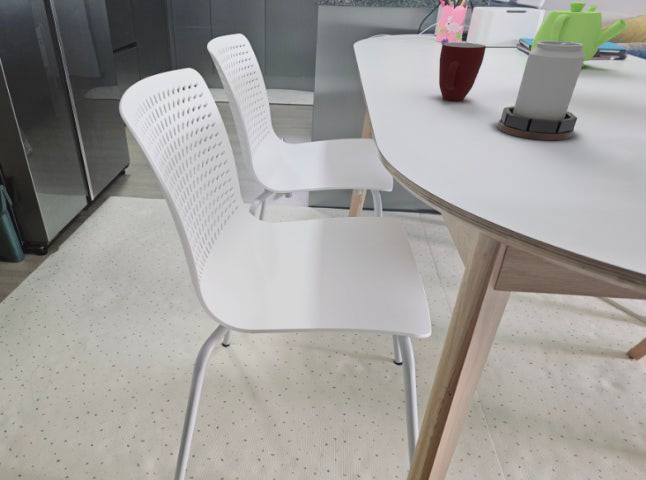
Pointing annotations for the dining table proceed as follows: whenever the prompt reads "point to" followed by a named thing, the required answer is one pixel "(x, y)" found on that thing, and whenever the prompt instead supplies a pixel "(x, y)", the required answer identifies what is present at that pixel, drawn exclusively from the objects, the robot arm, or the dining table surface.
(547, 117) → the can
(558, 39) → the teapot
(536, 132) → the base pad
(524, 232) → the dining table surface
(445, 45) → the mug
